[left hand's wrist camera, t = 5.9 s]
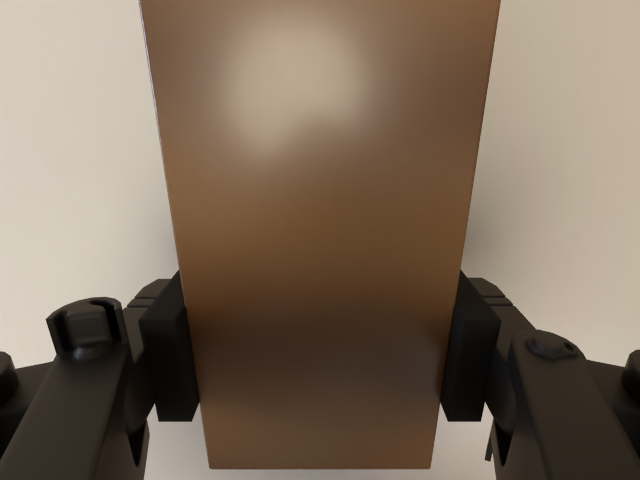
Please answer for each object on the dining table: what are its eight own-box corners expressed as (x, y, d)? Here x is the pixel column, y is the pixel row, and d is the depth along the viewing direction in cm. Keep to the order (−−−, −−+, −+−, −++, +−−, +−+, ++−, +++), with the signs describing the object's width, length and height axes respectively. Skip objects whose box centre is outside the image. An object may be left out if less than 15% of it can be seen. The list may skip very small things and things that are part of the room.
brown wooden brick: (213, -297, 10) (-67, -1329, 3) (425, -297, 10) (705, -1333, 3) (256, 307, 17) (208, 470, 10) (383, 307, 17) (431, 470, 10)
